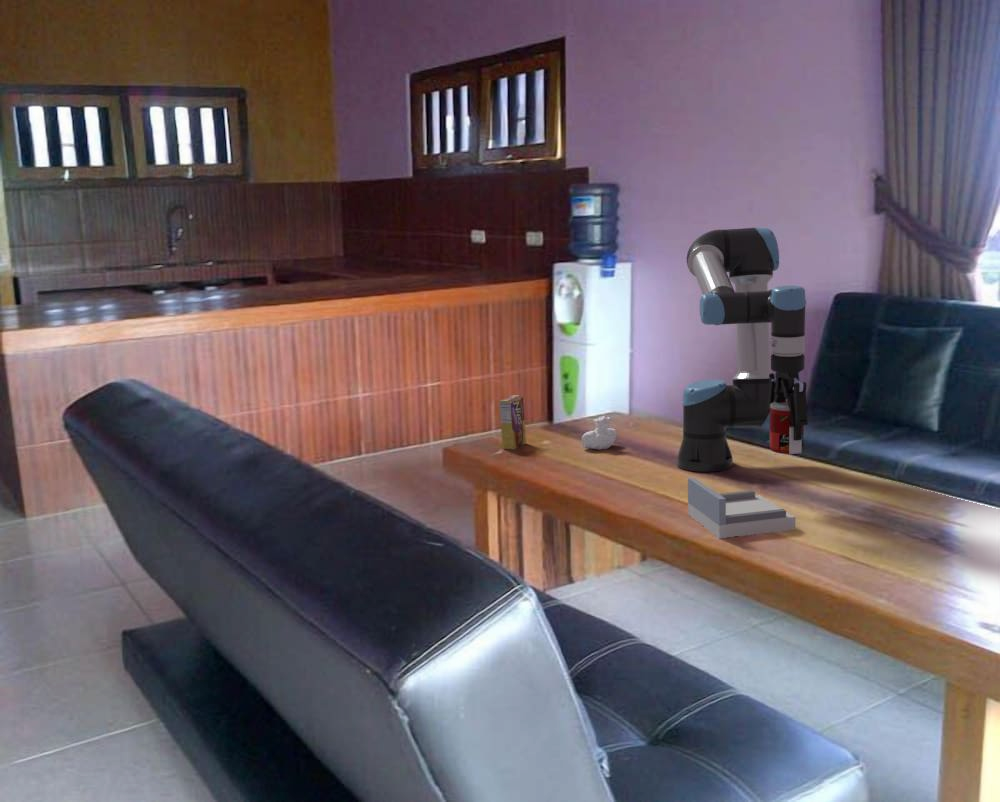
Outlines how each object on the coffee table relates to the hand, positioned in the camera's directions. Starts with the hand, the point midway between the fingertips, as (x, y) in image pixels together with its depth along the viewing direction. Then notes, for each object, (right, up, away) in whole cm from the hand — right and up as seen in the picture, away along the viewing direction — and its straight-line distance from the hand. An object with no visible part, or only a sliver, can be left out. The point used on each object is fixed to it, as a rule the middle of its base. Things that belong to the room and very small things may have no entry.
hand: (786, 448), depth 240 cm
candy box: (-63, -3, +74) cm, 98 cm away
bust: (-37, -3, +66) cm, 76 cm away
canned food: (0, -1, 0) cm, 1 cm away
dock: (-13, -17, -7) cm, 22 cm away
